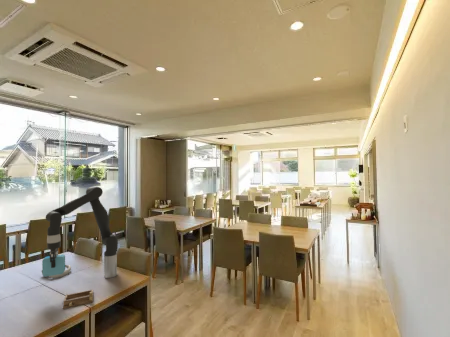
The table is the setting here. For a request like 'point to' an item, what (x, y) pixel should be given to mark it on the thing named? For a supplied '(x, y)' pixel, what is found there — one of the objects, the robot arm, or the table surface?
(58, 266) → the data package
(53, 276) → the headphones
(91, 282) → the table surface
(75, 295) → the caddy
